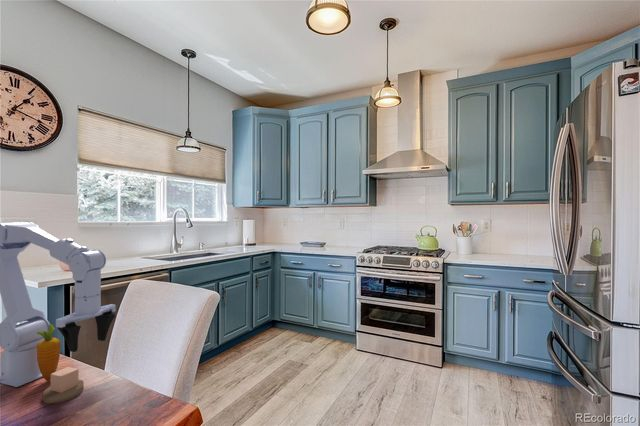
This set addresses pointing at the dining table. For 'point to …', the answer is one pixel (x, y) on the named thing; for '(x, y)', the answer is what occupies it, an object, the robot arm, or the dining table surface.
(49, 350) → the carrot
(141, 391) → the dining table surface
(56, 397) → the olive round dish
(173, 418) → the dining table surface
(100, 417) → the dining table surface
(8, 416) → the dining table surface
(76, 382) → the tan block
